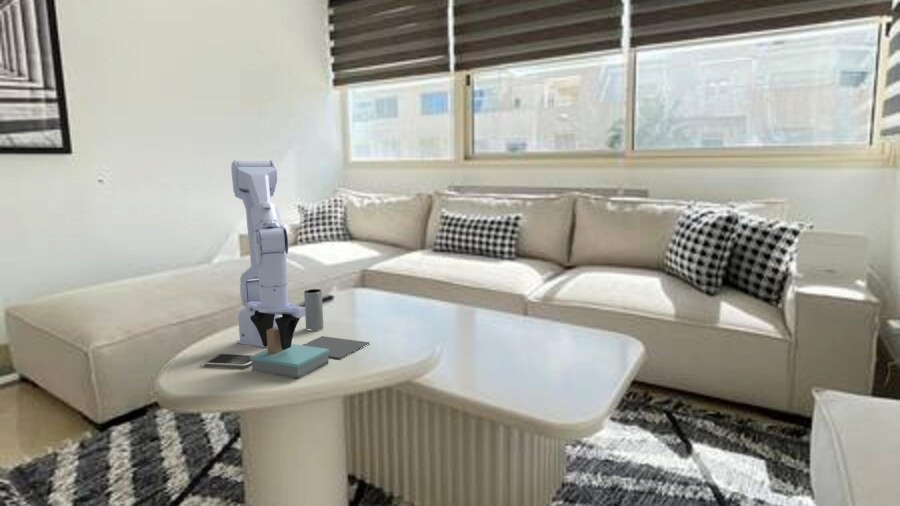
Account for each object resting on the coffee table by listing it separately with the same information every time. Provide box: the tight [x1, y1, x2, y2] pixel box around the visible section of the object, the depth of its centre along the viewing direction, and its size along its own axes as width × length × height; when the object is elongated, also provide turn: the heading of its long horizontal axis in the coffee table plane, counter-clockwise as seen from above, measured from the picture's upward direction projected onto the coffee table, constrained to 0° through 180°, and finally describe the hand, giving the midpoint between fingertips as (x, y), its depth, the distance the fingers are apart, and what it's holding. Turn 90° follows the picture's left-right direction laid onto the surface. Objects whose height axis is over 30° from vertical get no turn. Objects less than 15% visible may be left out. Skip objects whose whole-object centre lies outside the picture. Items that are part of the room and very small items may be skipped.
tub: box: [251, 353, 329, 380], centre depth 116 cm, size 12×10×2 cm
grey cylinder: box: [303, 288, 324, 331], centre depth 145 cm, size 4×4×10 cm
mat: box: [302, 335, 371, 360], centre depth 129 cm, size 14×12×1 cm
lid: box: [250, 326, 329, 367], centre depth 116 cm, size 12×10×6 cm
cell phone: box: [200, 353, 254, 370], centre depth 120 cm, size 6×11×1 cm, turn 81°
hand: (277, 346), depth 117 cm, fingers open, 4 cm apart
